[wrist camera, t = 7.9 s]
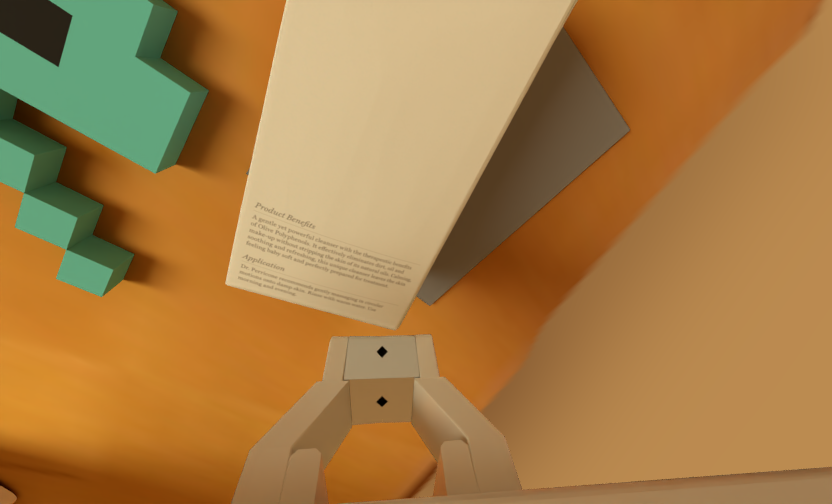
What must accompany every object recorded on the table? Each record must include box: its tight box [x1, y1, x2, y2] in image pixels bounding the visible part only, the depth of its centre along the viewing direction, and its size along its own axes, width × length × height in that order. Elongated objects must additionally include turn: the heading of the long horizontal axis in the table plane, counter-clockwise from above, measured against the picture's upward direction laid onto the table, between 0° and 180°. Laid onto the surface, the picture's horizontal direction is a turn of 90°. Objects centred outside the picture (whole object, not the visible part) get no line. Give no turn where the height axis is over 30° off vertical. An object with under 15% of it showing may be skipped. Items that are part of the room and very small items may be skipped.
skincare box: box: [226, 0, 578, 330], centre depth 14 cm, size 8×7×16 cm
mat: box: [246, 27, 630, 306], centre depth 18 cm, size 16×14×1 cm
